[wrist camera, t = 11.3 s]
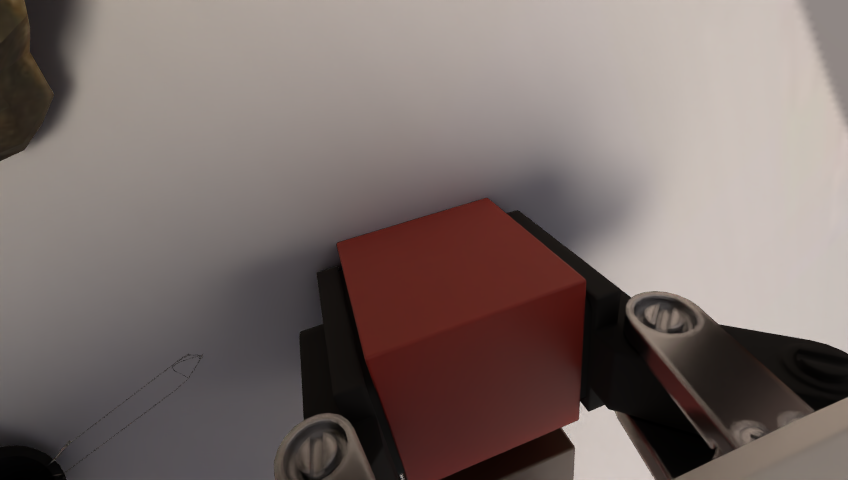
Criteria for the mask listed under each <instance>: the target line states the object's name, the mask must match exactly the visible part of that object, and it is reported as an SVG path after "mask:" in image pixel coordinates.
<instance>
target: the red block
mask: <svg viewBox="0 0 848 480" xmlns="http://www.w3.org/2000/svg"><path fill="white" fill-rule="evenodd" d="M337 249H338V253H339V257H340V261H341V265H342V269H343V273H344V277H345V281H346V285H347V289H348V293H349V297H350V302H351V306H352V310H353V314H354V318H355V322H356V326H357V330H358V334H359V338H360V342H361V346H362V350H363V354H364V358H365V362H366V364H367V367H368V370H369V373H370V376H371V379H372V381H373V384H374V387H375V389H376V391H377V393H378V396H379V399H380V402H381V405H382V408H383V411H384V413H385V416H386V419H387V422H388V425H389V428H390V431H391V433H392V436H393V439H394V442H395V445H396V448H397V451H398V453H399V456H400V459H401V462H402V465H403V468H404V471H405V475H406V478H407V480H440V479H442V478H444V477H447V476H449V475H451V474H454V473H456V472H458V471H461V470H463V469H465V468H468V467H470V466H472V465H475V464H477V463H479V462H482V461H484V460H486V459H489V458H491V457H493V456H496V455H498V454H500V453H503V452H505V451H507V450H510V449H512V448H514V447H517V446H519V445H521V444H524V443H526V442H528V441H531V440H533V439H535V438H538V437H540V436H542V435H545V434H547V433H549V432H552V431H554V430H556V429H559V428H561V427H563V426H566V425H568V424H570V423H573V422H575V421H577V420H578V419H579V407H580V389H581V370H582V352H583V333H584V315H585V297H586V280H585V278H583V277H582V276H581V275H580V274H579V273H577V272H576V271H575V270H574V269H573V268H571V267H570V266H569V265H568V264H567V263H565V262H564V261H563V260H562V259H561V258H559V257H558V256H557V255H556V254H555V253H553V252H552V251H551V250H550V249H549V248H547V247H546V246H545V245H544V244H543V243H541V242H540V241H539V240H538V239H537V238H535V237H534V236H533V235H532V234H530V233H529V232H528V231H527V230H526V229H524V228H523V227H522V226H521V225H520V224H518V223H517V222H516V221H515V220H514V219H512V218H511V217H510V216H509V215H508V214H506V213H505V212H504V211H503V210H502V209H500V208H499V207H498V206H497V205H496V204H494V203H493V202H492V201H491V200H490V199H488V198H484V199H481V200H478V201H474V202H471V203H468V204H464V205H461V206H458V207H454V208H451V209H448V210H444V211H441V212H438V213H434V214H431V215H428V216H424V217H421V218H418V219H414V220H411V221H408V222H404V223H401V224H398V225H394V226H391V227H388V228H384V229H381V230H378V231H374V232H371V233H368V234H364V235H361V236H358V237H354V238H351V239H348V240H344V241H341V242H338V243H337Z"/></svg>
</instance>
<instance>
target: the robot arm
mask: <svg viewBox="0 0 848 480" xmlns="http://www.w3.org/2000/svg"><path fill="white" fill-rule="evenodd" d="M506 214H508V215H509V216H510V217H511V218H512V219H514V220H515V221H516V222H517V223H518V224H520V225H521V226H522V227H523V228H524V229H526V230H527V231H528V232H529V233H530V234H532V235H533V236H534V237H535V238H537V239H538V240H539V241H540V242H541V243H543V244H544V245H545V246H546V247H547V248H549V249H550V250H551V251H552V252H553V253H555V254H556V255H557V256H558V257H559V258H561V259H562V260H563V261H564V262H565V263H567V264H568V265H569V266H570V267H571V268H573V269H574V270H575V271H576V272H577V273H579V274H580V275H581V276H582V277H583V278H585V280H586V297H585V315H584V333H583V352H582V370H581V389H580V401H581V403H582V404H583V405H584V406H585V408H586V409H587V410H588V412H589V411H591V410H594V409H596V408H598V407H601V406H603V405H606V407H607V408H608V409H610V410H614V411H615V413H616V416H617V418H618V420H619V421H620V423H621V425H622V426H623V428H624V430H625V431H626V433H627V435H628V436H629V438H630V439H631V441H632V443H633V444H634V446H635V448H636V449H637V451H638V453H639V454H640V456H641V458H642V459H643V461H644V462H645V464H646V466H647V467H648V469H649V471H650V472H651V474H652V476H653V477H654V479H655V480H848V354H847V353H845V352H844V351H842V350H839V349H837V348H834V347H832V346H829V345H827V344H823V343H819V342H815V341H811V340H805V339H800V338H794V337H788V336H782V335H777V334H771V333H765V332H759V331H754V330H748V329H742V328H736V327H731V326H725V325H719V324H717V323H716V322H715V321H714V320H713V319H712V318H711V317H710V316H708V315H707V314H706V313H705V312H704V311H703V310H702V309H701V308H700V307H698V306H697V305H696V304H694V303H693V302H691V301H690V300H688V299H686V298H683V297H681V296H679V295H675V294H671V293H667V292H658V291H652V292H643V293H640V294H637V295H635V296H633V297H632V298H631V297H630V296H628V295H627V294H626V293H625V292H623V291H622V290H621V289H619V288H618V287H617V286H616V285H614V284H613V283H612V282H610V281H609V280H608V279H607V278H605V277H604V276H603V275H601V274H600V273H599V272H597V271H596V270H595V269H594V268H592V267H591V266H590V265H588V264H587V263H586V262H585V261H583V260H582V259H581V258H579V257H578V256H577V255H576V254H574V253H573V252H572V251H570V250H569V249H568V248H566V247H565V246H564V245H562V244H561V243H560V242H559V241H557V240H556V239H555V238H553V237H552V236H551V235H550V234H548V233H547V232H546V231H544V230H543V229H542V228H541V227H539V226H538V225H537V224H535V223H534V222H533V221H532V220H530V219H529V218H528V217H526V216H525V215H524V214H523V213H521V212H520V211H518V210H517V211H513V212H510V213H506ZM317 281H318V288H319V295H320V303H321V310H322V317H323V324H322V325H319V326H316V327H313V328H310V329H307V330H304V331H301V332H300V336H299V339H300V358H301V377H302V396H303V415H304V421H302V422H301V423H300V424H298V425H297V426H295V427H294V428H293V429H292V430H291V431H290V432H289V433H288V434H287V435H286V437H285V438H284V440H283V441H282V443H281V445H280V446H279V448H278V450H277V453H276V457H275V460H274V476H275V480H401V479H400V474H403V473H405V471H404V468H403V465H402V462H401V459H400V456H399V453H398V451H397V448H396V445H395V442H394V439H393V436H392V433H391V431H390V428H389V425H388V422H387V419H386V416H385V413H384V411H383V408H382V405H381V402H380V399H379V396H378V393H377V391H376V389H375V387H374V384H373V381H372V379H371V376H370V373H369V370H368V367H367V364H366V362H365V358H364V354H363V350H362V346H361V342H360V338H359V334H358V330H357V326H356V322H355V318H354V314H353V310H352V306H351V302H350V297H349V293H348V289H347V285H346V281H345V277H344V273H343V270H342V271H339V268H338V266H336V267H333V268H329V269H326V270H323V271H320V272H317Z"/></svg>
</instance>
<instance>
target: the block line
mask: <svg viewBox="0 0 848 480" xmlns="http://www.w3.org/2000/svg"><path fill="white" fill-rule="evenodd" d="M574 455H575V447H574V445H573V444H572V442H571V441H570V439H569V438H568V436H567V435H566V434H565V432H564V431H563V429H562V428H559V429H556V430H554V431H552V432H549V433H547V434H545V435H542V436H540V437H538V438H535V439H533V440H531V441H528V442H526V443H524V444H521V445H519V446H517V447H514V448H512V449H510V450H507V451H505V452H503V453H500V454H498V455H496V456H493V457H491V458H489V459H486V460H484V461H482V462H479V463H477V464H475V465H472V466H470V467H468V468H465V469H463V470H461V471H458V472H456V473H454V474H451V475H449V476H447V477H444V478H442V479H440V480H573V476H574ZM403 477H404V480H407V478H406V475H405V473H403Z"/></svg>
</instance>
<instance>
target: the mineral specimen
mask: <svg viewBox="0 0 848 480" xmlns="http://www.w3.org/2000/svg"><path fill="white" fill-rule="evenodd" d="M53 96H54V93H53V92H52V90H51V88H50V86H49V85H48V83H47V81H46V79H45V78H44V76H43V74H42V72H41V71H40V69H39V67H38V65H37V64H36V62H35V60H34V58H33V56H32V55H31V53H30V25H29V20H28V15H27V10H26V5H25V1H24V0H0V161H1V160H3V159H6V158H8V157H10V156H12V155H14V154H16V153H19V152H21V151H23V150H25V148H26V147H27V145H28V144H29V142H30V141H31V139H32V138H33V136H34V135H35V134H36V132H37V131H38V129H39V128H40V126H41V125H42V123H43V121H44V118H45V116H46V113H47V111H48V109H49V106H50V104H51V101H52V99H53Z"/></svg>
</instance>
